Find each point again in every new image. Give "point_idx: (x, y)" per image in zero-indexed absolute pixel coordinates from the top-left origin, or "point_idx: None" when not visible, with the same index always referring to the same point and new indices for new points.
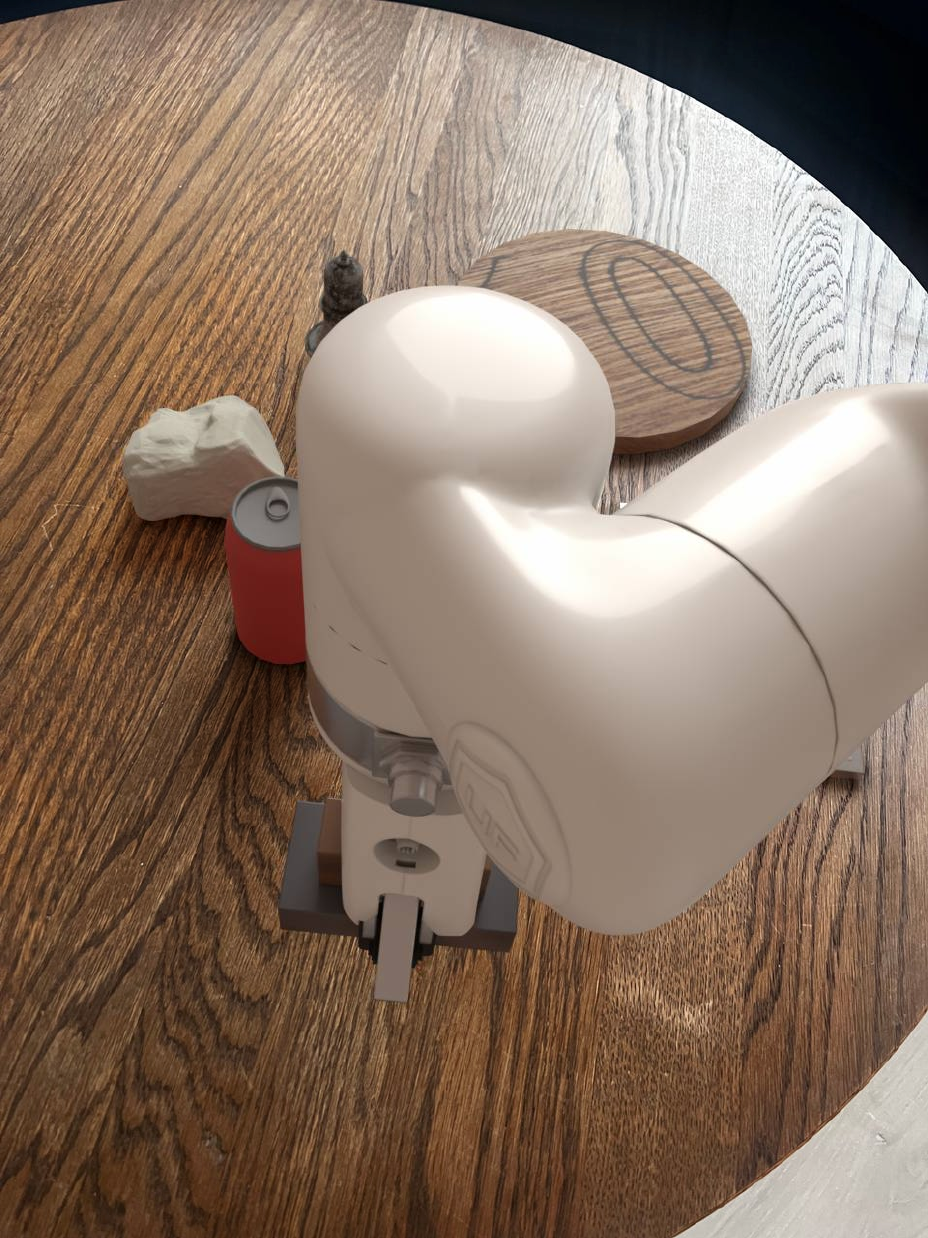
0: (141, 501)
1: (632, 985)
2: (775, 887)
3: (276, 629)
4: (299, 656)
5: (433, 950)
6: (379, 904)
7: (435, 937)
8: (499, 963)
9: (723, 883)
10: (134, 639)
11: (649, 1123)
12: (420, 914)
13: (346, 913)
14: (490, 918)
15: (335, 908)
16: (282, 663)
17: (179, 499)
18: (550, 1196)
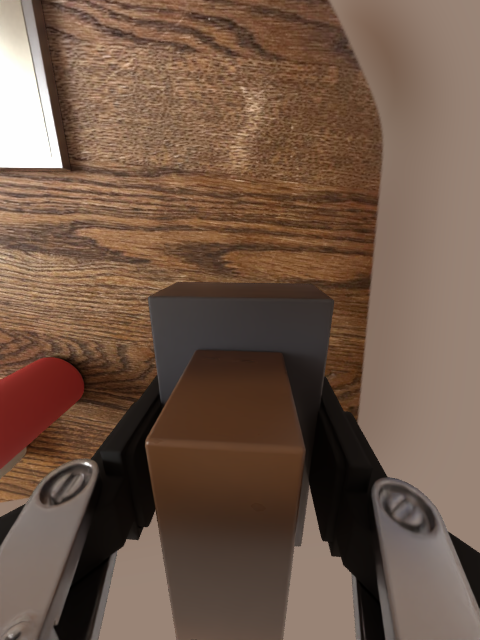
0: (11, 463)
1: (236, 154)
2: (146, 18)
3: (56, 404)
4: (74, 375)
5: (329, 385)
6: (329, 531)
7: (346, 418)
8: (231, 247)
9: (152, 72)
10: (94, 441)
11: (322, 140)
12: (351, 491)
13: (305, 497)
14: (310, 341)
15: (299, 505)
16: (82, 381)
17: None
18: (361, 209)
